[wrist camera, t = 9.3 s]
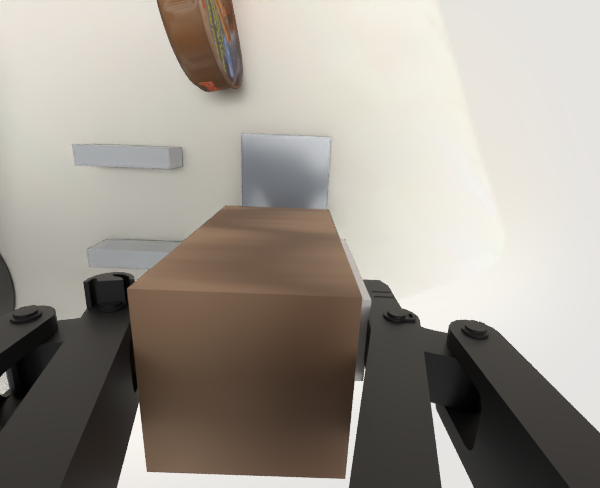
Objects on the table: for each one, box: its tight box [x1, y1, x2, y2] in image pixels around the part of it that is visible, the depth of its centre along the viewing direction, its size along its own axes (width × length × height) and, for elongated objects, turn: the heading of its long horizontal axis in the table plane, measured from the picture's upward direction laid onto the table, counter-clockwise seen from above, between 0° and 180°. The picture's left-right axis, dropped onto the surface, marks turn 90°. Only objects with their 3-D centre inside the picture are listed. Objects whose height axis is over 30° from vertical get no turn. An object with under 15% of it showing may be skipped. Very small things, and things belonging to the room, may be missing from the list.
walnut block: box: [127, 206, 362, 479], centre depth 13 cm, size 5×5×10 cm
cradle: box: [72, 144, 183, 269], centre depth 28 cm, size 7×10×3 cm
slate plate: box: [242, 134, 331, 209], centre depth 30 cm, size 7×12×1 cm, turn 178°
